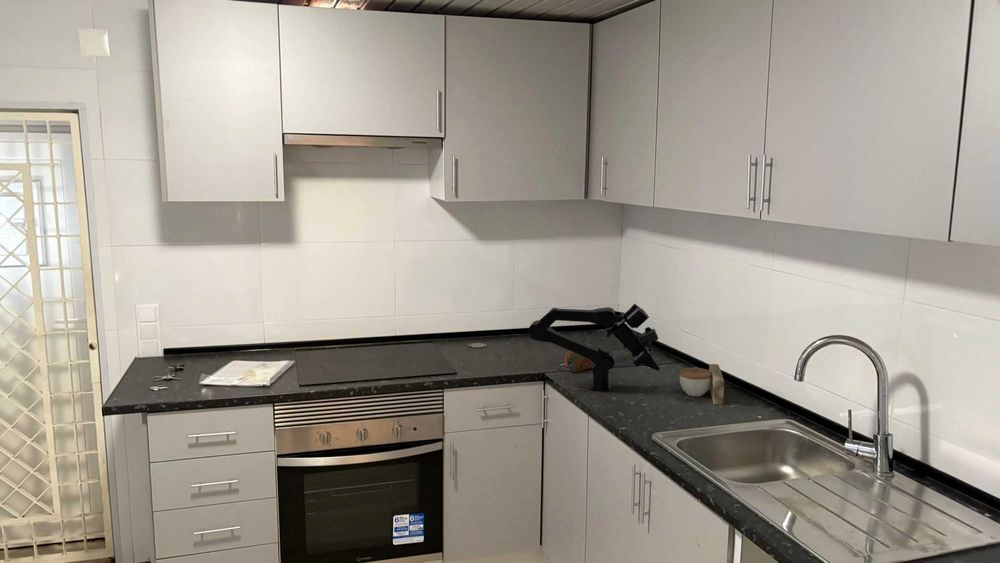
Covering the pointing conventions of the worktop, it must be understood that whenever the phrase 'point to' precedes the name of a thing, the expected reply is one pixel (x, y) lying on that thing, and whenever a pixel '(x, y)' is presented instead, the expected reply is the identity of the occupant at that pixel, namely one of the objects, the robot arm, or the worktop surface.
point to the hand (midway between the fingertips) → (658, 369)
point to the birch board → (716, 384)
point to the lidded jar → (695, 381)
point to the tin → (576, 362)
